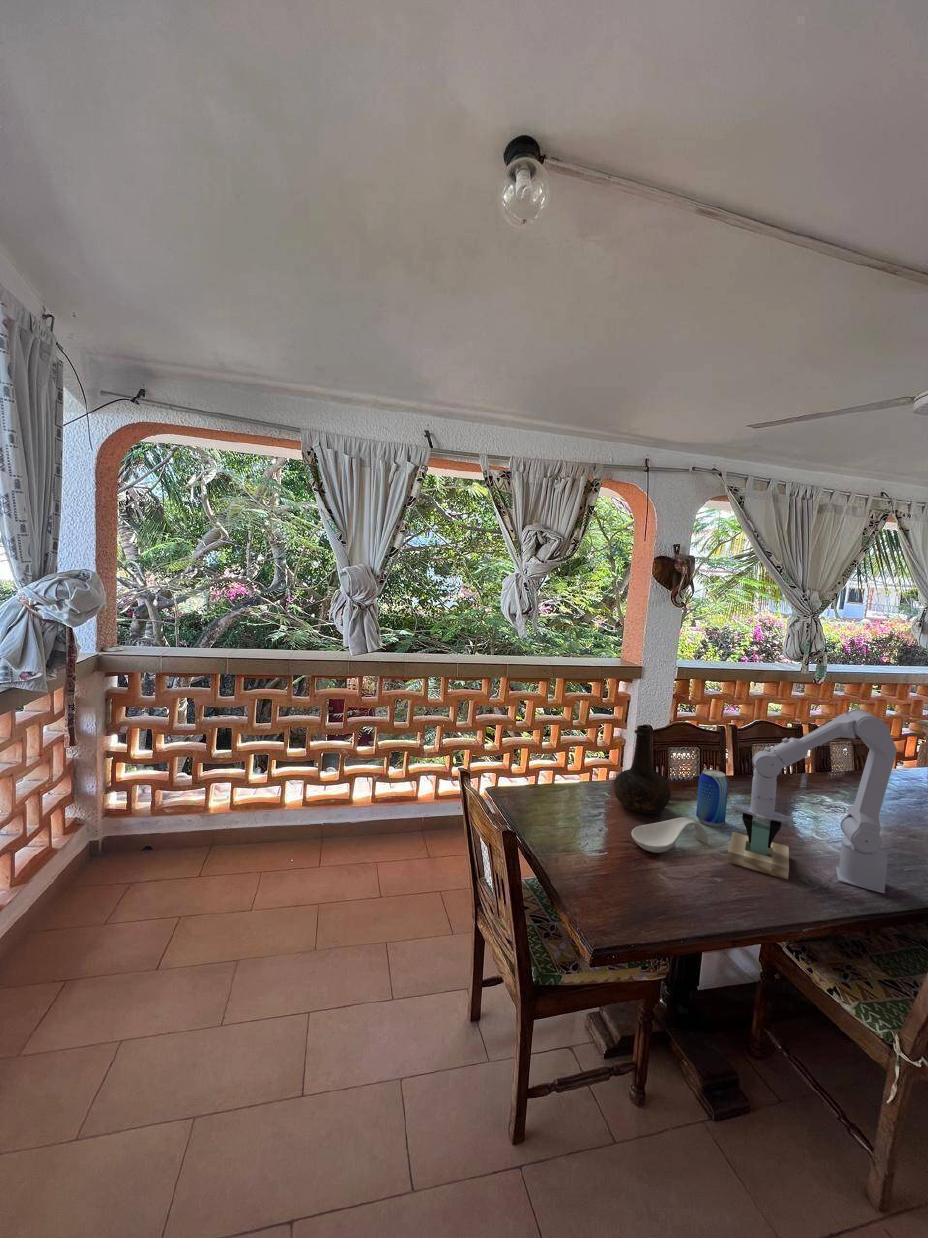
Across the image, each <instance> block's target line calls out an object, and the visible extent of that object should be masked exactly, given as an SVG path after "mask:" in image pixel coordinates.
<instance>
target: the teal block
mask: <svg viewBox="0 0 928 1238" xmlns="http://www.w3.org/2000/svg"><path fill="white" fill-rule="evenodd" d="M769 832H770V823H769V824H768V823H765V822H760V821H756V820H753V823H752V836H751V848H750V852H754V853H757V854H761V855H765V856H767V851H768V840H769Z"/></svg>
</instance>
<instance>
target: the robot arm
mask: <svg viewBox="0 0 928 1238" xmlns="http://www.w3.org/2000/svg"><path fill="white" fill-rule="evenodd" d="M856 735H857V736H858V737H859V738H860V739H861V741H862V742H863V743H864V744H865V746H866V747H867V748H868V749H869V751H868V754H867V756H866V761H865V765H864V768H863V772H862V775H861V778H860V781H859V782H860V783H859V786H858V789H857V793H856V797H855V800H854V804H853V806H851V807H850V808H848V811H847V813H846V815H845V816H843V818H842V819H841V820H840V824H839V825H840V830H841V831H842V833H844V836H843V838H842V839H841V847H840V855H839V866H835V872H836V876H837V877H836V878H837V880H838V881H839V882H841V883H844V884H847V885H852V886H855V887H858V888H859V887H860V888H861V889H862V888H863V889H865V890H870V891H873V892H876V893H881V894H885V893H886V891H885V890H886V881H887V872H888V871H887V870H888V858H887V854H886V852H883V851H879V850H880V848H881V846H882V838H881V835H880V834H881V830H882V829H881V828H882V827H881V822H880V818H879V817H880V816H879V815H880V811H881V810H882V806H883V802H884V798H885V794H886V791H887V788H888V784H889V781H890V777H891V773H892V770H893V766H894V763H895V760H896V755H897V753H898V751H897V750H898V749H897V748H898V747H896V743H895V741H894V739H893V737H892V735H891V729H890V727H889V726H887V724H886V723H884V721H883V720H882V719H881V718H879V717H877V716H874V715H872V714H871V713H869V712H868V711H866V710H865V709H862V708H855V709H854V708H853V709H850V710H849V711H847V712H846V713H841V714H839V715H837V716H836V717H835V718H834V719H832V720H830V721H829V722H828V721H827V723H824V724H823V725H821V726H820V727H818V728H816V729H815V730H813V731H811V732H809V733H807V734H806V735H804V736H802V737H801V738H795V737H790V738H788V737H785V738H782V739H781V741H782V742H780V743H778V744H776V745H774V746H772V747H769V746H768V747H767V748H765V750H760V751H758V752H756V753H755V754H754V756H753V757H752V758H751V762H752V765H753V766H754V768H753V777H752V783H751V785H752V786H751V795H750V805H744V804H736V803H732V805H731V813H732V814H741V815H742V817H741V818H742V819H741V820H742V822H743V824H744V826H745V829H746V834H747V836H748V840H749V843H751V836H752V825H753V821H754V818H757V819H758V820H765V821H769V825H770V827H769V840H768V848H770V847H771V843H772V842H773V841H774V840H775V837H776V835H777V834H778V832H780V830H781V827H782V825H787V826H788V827H791V828H793V827H794V817H792V816H788V815H785V814H782V813H779V812H777V811H775V807H776V797H777V785H778V784H777V783H778V781H777V779H778V778H777V776H779V775H780V773H781V772H782V771H781V770H782V769H784V768H786V767H789V766H792V765H793V764H794V763H797V762H799V761H801V760H803V759H805V758H806V757H807V756H808V753H809V750H812V749H815V748H817V747H819V746H822V745H823V744H826V743H829V742H831V741H832V740H835V739H838V738H845V739H846V738H847V739H856Z"/></svg>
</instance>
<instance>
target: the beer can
mask: <svg viewBox="0 0 928 1238" xmlns="http://www.w3.org/2000/svg"><path fill="white" fill-rule="evenodd" d="M728 790H729V781H728V779H727V777H726V774H725V773H724V772H723V771H720V770H715V769H707V768H706V769H703V770H702V772H701V774H700V775H699V777H698V787H697V799H696V800H697V801H696V813H695V815H696V817H697V819H698V821H699V822H700V823H701V824H702V825H703V824H704V825H706V826H709V827H718V828H719V827H721V826H722V825H723V824H725V822H726V817H727V816H726V814H727V802H728Z"/></svg>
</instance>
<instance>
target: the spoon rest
mask: <svg viewBox="0 0 928 1238" xmlns="http://www.w3.org/2000/svg"><path fill="white" fill-rule="evenodd" d="M688 826H694V837H695V839H696V840H698V841H700V842H701V843H703V844H708V841H709V839H708V835H707V831H706V830H705V828H704V826H703V825H702V824H700V823H698V822H696V821H695V820H694V819H692V818H690V817H685V816H683V817H681V816H680V817H676V818H671V819H669V820H663V821H659V822H654V823H648V824H642V825H638V826H636V827H634V828H633V829H632V830H631V837H632V840H634V842H635V843H636V844H637V845H638V846H639V847H640V848H642V849H643V850H644V851H647V852H650V853H656V854H657V853H658V854H661V853H665V852H667V851H669V850H670V849H671V848H673V847H674V845H675V844H676V843H677V841H678V839H679V838H680V836H681V835H682V832H683V831H684V830H685V829H686V828H687V827H688Z"/></svg>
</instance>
